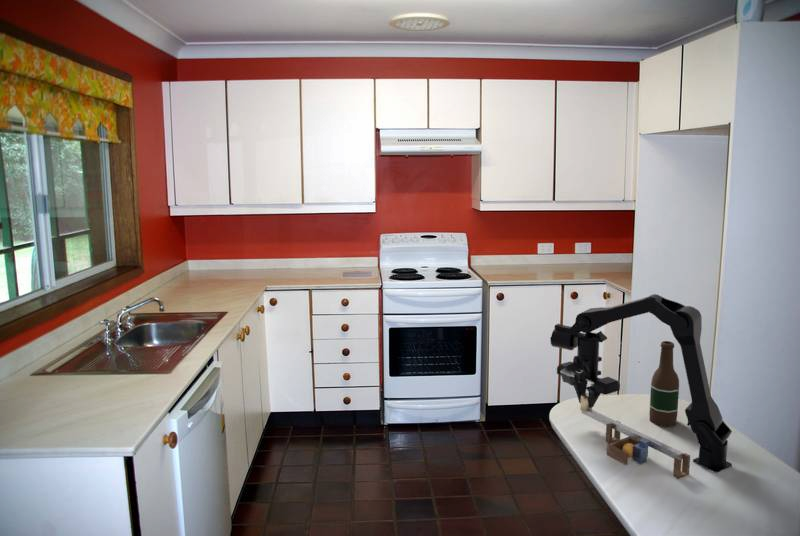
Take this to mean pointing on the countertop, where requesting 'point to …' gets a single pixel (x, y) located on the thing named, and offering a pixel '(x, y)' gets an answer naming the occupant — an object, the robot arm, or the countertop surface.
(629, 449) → the ball
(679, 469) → the block
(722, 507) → the countertop surface
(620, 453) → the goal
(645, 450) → the rod
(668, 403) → the beer bottle
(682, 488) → the countertop surface
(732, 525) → the countertop surface
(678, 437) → the countertop surface
